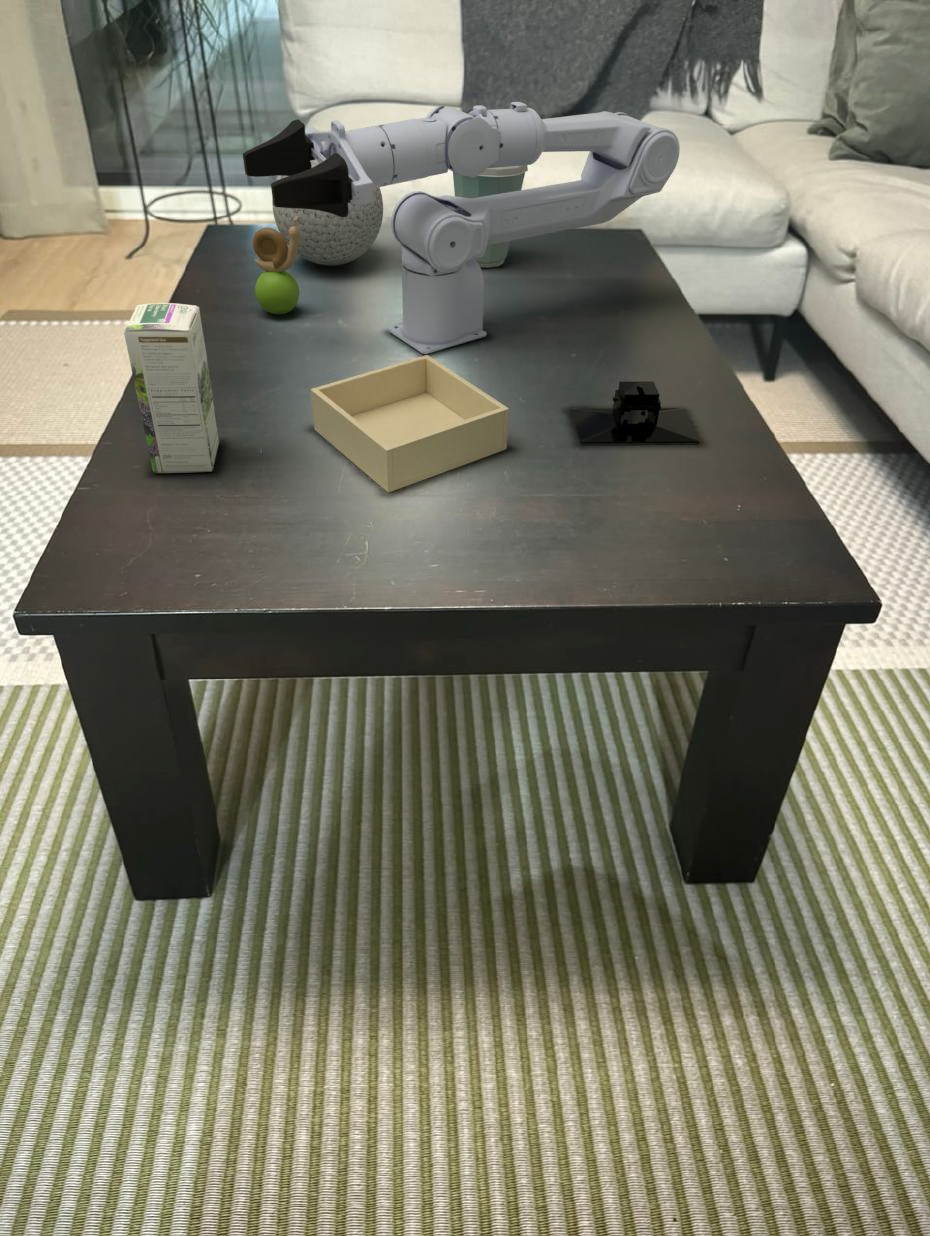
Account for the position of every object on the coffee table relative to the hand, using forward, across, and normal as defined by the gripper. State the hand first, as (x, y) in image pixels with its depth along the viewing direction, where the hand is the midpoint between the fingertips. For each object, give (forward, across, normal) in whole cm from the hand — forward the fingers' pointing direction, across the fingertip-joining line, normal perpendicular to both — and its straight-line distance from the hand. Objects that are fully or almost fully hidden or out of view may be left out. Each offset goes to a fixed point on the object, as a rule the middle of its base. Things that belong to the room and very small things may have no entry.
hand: (258, 179), depth 91 cm
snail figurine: (-5, -12, +22) cm, 26 cm away
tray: (-5, +23, +18) cm, 30 cm away
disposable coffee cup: (-37, -16, +25) cm, 48 cm away
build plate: (-27, +32, +18) cm, 45 cm away
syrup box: (+16, +16, +18) cm, 29 cm away
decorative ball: (-17, -25, +25) cm, 39 cm away
